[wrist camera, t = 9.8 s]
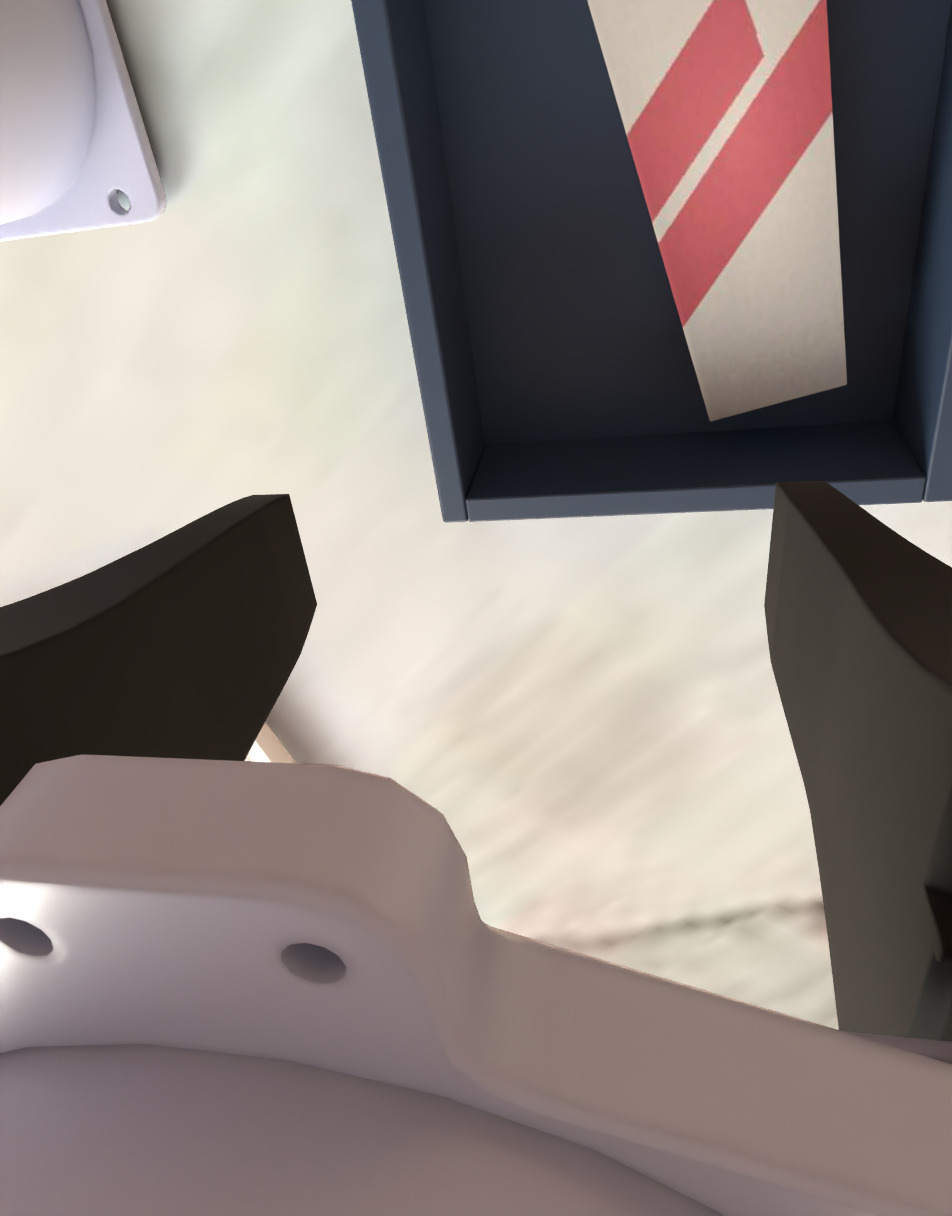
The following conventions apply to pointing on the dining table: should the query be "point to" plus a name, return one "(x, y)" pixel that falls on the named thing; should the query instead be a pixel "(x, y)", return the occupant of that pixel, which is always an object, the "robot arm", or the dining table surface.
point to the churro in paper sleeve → (737, 184)
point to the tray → (646, 271)
